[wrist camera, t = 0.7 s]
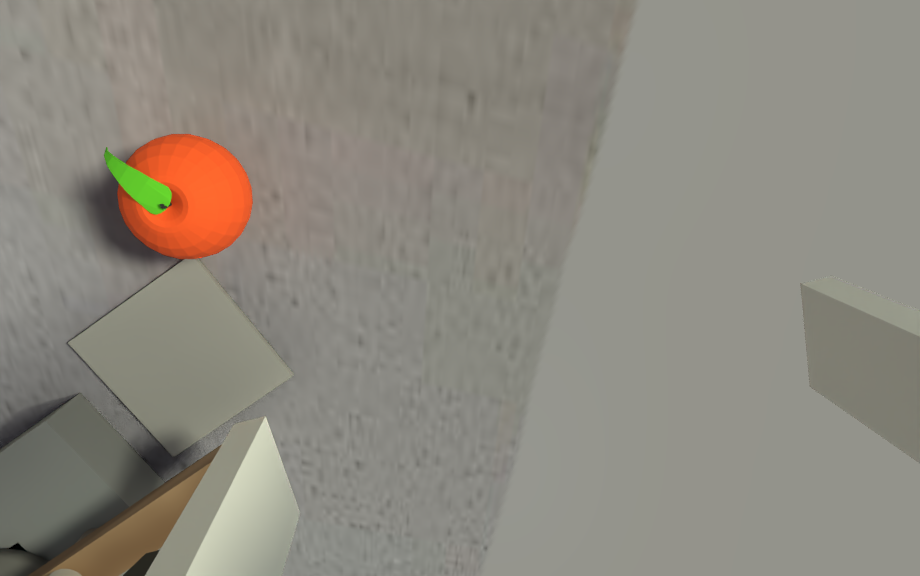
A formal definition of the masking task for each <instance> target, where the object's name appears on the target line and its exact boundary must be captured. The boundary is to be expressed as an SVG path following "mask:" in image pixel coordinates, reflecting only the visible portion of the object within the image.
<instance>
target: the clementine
mask: <svg viewBox="0 0 920 576" xmlns="http://www.w3.org/2000/svg"><path fill="white" fill-rule="evenodd" d="M104 157H105V160H106V164H107V166H108V168H109V169H110V171H111V173H112V174H113V176H114V177H115V178H116V180H117V181H118V182H119V186H118V193H117V195H118V203H119V209H120V212H121V214H122V217H123V219H124V221H125V224H126V225H127V226H128V228H129V229H130V230H131V232H132V233H133V234H134V236H135V237H137V238H138V239H139V240H140V241H141V242H143V243H144V244H145V245H146V246H147V247H149V248H151V249H153V250H155V251H157V252H159V253H161V254H163V255H165V256H169V257H173V258H178V259H198V258H202V257H206V256H210V255H213V254H217V253H219V252H220V251H222V250H224V249H225V248H227V247H229V246H230V245H231V244H232V243H233V242H234V241H235V240H236V239H237V238H238V237H239V236H240V235H241V233H242V232H243V230H244V228H245V226H246V224H247V222H248V220H249V218H250V214H251V209H252V204H253V201H252V189H251V185H250V182H249V179H248V177H247V174H246V172H245V170H244V169H243V167H242V166H241V164H240V163H239V161H238V160H237V159H236V158H235V157H234V156H233V155H232V154H231V153H230V152H229V151H228V150H227V149H226V148H224V147H222V146H220V145H219V144H217V143H215V142H213V141H211V140H209V139H206V138H202V137H198V136H194V135H191V134H171V135H167V136H164V137H160V138H156V139H154V140H152V141H150V142H148V143H147V144H145V145H144V146H142V147H140V148H139V149H137V150H136V151H135V152H134V153H133V155H132V156H131V157H130V158H129V159H128V160H127V161H126V164H125V163H124V162H122V161H121V160H119V159H118V158H116V157H115V156H113V155H112V154H111V153H110V152H108V149H107V147H106V150H105V154H104Z"/></svg>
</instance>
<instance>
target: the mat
mask: <svg viewBox="0 0 920 576" xmlns="http://www.w3.org/2000/svg"><path fill="white" fill-rule="evenodd" d="M68 344H69V345H70V346H71V347H72V348H73V349H74V350H75V351H76V352H77V354H78V355H79V356H80V357H81V358H82V359H83V360H84V361H85V362H86V363H87V364H88V365H89V367H90V368H91V369H92V370H93V371H94V372H95V373H96V374H97V375H98V376H99V377H100V378H101V379H102V381H103V382H104V383H105V384H106V385H107V386H108V387H109V388H110V389H111V390H112V391H113V392H114V394H115V395H116V396H117V397H118V398H119V399H120V400H121V401H122V402H123V403H124V404H125V405H126V406H127V408H128V409H129V410H130V411H131V412H132V413H133V414H134V415H135V416H136V417H137V418H138V419H139V421H140V422H141V423H142V424H143V425H144V426H145V427H146V428H147V429H148V430H149V431H150V432H151V434H152V435H153V436H154V437H155V438H156V439H157V440H158V441H159V442H160V443H161V444H162V445H163V446H164V448H165V449H166V450H167V451H168V452H169V453H170V454H171V455H172V456H173V457H175V456H176V455H178V454H179V453H181V452H182V451H184V450H185V449H187V448H188V447H190V446H191V445H192V444H194V443H195V442H197V441H198V440H200V439H201V438H203V437H204V436H206V435H207V434H209V433H210V432H212V431H213V430H215V429H216V428H217V427H219V426H220V425H222V424H223V423H225V422H226V421H228V420H229V419H231V418H232V417H234V416H235V415H237V414H238V413H240V412H241V411H242V410H244V409H245V408H247V407H248V406H250V405H251V404H253V403H254V402H256V401H257V400H259V399H260V398H262V397H263V396H265V395H266V394H267V393H269V392H270V391H272V390H273V389H275V388H276V387H278V386H279V385H281V384H282V383H284V382H285V381H287V380H288V379H290V378H291V377H292V376H293V375H294V374H293V373H292V371H291V370H290V369H289V368H288V366H287V365H286V364H285V363H284V362H283V360H282V359H281V358H280V357H279V356H278V354H277V353H276V352H275V351H274V350H273V348H272V347H271V346H270V345H269V343H268V342H267V341H266V340H265V339H264V337H263V336H262V335H261V334H260V333H259V331H258V330H257V329H256V328H255V327H254V325H253V324H252V323H251V322H250V320H249V319H248V318H247V317H246V316H245V314H244V313H243V312H242V311H241V310H240V308H239V307H238V306H237V305H236V304H235V302H234V301H233V300H232V299H231V297H230V296H229V295H228V294H227V293H226V291H225V290H224V289H223V288H222V287H221V285H220V284H219V283H218V282H217V281H216V279H215V278H214V277H213V276H212V274H211V273H210V272H209V271H208V270H207V268H206V267H205V266H204V265H203V264H202V262H201V261H200V260H199V259H184V260H183V261H181V262H180V263H178V264H177V265H176V266H174V267H173V268H171V269H170V270H169V271H167V272H166V273H164V274H163V275H162V276H160V277H159V278H157V279H156V280H155V281H153V282H152V283H151V284H149V285H148V286H146V287H145V288H144V289H142V290H141V291H139V292H138V293H137V294H135V295H134V296H132V297H131V298H130V299H128V300H127V301H125V302H124V303H123V304H121V305H120V306H118V307H117V308H116V309H114V310H113V311H111V312H110V313H109V314H107V315H106V316H104V317H103V318H102V319H100V320H99V321H97V322H96V323H95V324H93V325H92V326H90V327H89V328H88V329H86V330H85V331H83V332H82V333H81V334H79V335H78V336H77V337H75V338H74V339H72V340H71V341H70V342H68Z"/></svg>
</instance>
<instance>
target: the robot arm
mask: <svg viewBox="0 0 920 576" xmlns="http://www.w3.org/2000/svg"><path fill="white" fill-rule="evenodd" d="M800 286H801V296H802V307H803V317H804V329H805V340H806V350H807V361H808V372H809V382H810V387H811V388H812V389H814V390H815V391H817V392H818V393H820V394H821V395H823V396H824V397H825V398H827V399H828V400H830V401H831V402H832V403H834V404H835V405H837V406H838V407H840V408H841V409H843V410H844V411H845V412H847V413H848V414H850V415H851V416H853V417H854V418H856V419H857V420H858V421H860V422H861V423H863V424H864V425H865V426H867V427H868V428H870V429H871V430H873V431H874V432H875V433H877V434H878V435H880V436H881V437H883V438H884V439H886V440H887V441H888V442H890V443H891V444H893V445H894V446H896V447H897V448H898V449H900V450H901V451H903V452H904V453H906V454H907V455H909V456H910V457H911V458H913V459H914V460H916V461H917V462H919V463H920V310H917V309H915V308H912V307H910V306H907V305H905V304H902V303H900V302H897V301H894V300H892V299H889V298H887V297H884V296H882V295H879V294H877V293H874V292H871V291H869V290H866V289H864V288H861V287H859V286H856V285H854V284H851V283H849V282H846V281H843V280H841V279H838V278H836V277H833V276H829V277H825V278H821V279H817V280H813V281H809V282H805V283H801V284H800ZM299 515H300V511H299V508H298V506H297V503H296V500H295V497H294V494H293V492H292V489H291V486H290V483H289V480H288V478H287V475H286V472H285V469H284V466H283V464H282V461H281V458H280V455H279V452H278V450H277V447H276V444H275V441H274V438H273V436H272V433H271V430H270V427H269V425H268V422H267V419H266V416H264V417H260V418H256V419H252V420H248V421H244V422H240V423H236V424H234V425H233V427H232V429H231V430H230V432H229V434H228V435H227V437H226V439H225V441H224V442H223V444H222V446H221V447H220V449H219V451H218V452H217V454H216V456H215V457H214V459H213V461H212V463H211V464H210V466H209V468H208V469H207V471H206V473H205V474H204V476H203V478H202V480H201V481H200V483H199V485H198V486H197V488H196V490H195V491H194V493H193V495H192V497H191V498H190V500H189V502H188V503H187V505H186V507H185V508H184V510H183V512H182V514H181V515H180V517H179V519H178V520H177V522H176V524H175V525H174V527H173V529H172V531H171V532H170V534H169V536H168V537H167V539H166V541H165V542H164V544H163V546H162V547H161V549H160V550H157V551H153V552H149V553H146V554H145V555H144V556H142V557H141V558H140V559H139V560H138V561H137V562H136V563H135V564H134V565H133V566H132V567H131V568H130V569H129V570H128V571H127V572H126V573H125V574H124V575H123V576H282V574H283V570H284V567H285V563H286V560H287V556H288V553H289V550H290V546H291V543H292V539H293V536H294V533H295V529H296V526H297V522H298V519H299Z"/></svg>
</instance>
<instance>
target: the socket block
mask: <svg viewBox="0 0 920 576" xmlns="http://www.w3.org/2000/svg"><path fill="white" fill-rule="evenodd" d="M164 483H165V482H164V481H163V480H162V479H161V478H160V477H159V476H158V475H157V474H156V473H155V472H154V471H153V470H152V469H151V468H150V466H149V465H148V464H147V463H146V462H145V461H144V460H143V459H142V458H141V457H140V456H139V455H138V454H137V453H136V452H135V451H134V449H133V448H132V447H131V446H130V445H129V444H128V443H127V442H126V441H125V440H124V439H123V438H122V437H121V436H120V435H119V434H118V433H117V431H116V430H115V429H114V428H113V427H112V426H111V425H110V424H109V423H108V422H107V421H106V420H105V419H104V418H103V417H102V416H101V414H100V413H99V412H98V411H97V410H96V409H95V408H94V407H93V406H92V405H91V404H90V403H89V402H88V401H87V400H86V399H85V398H84V396H83V395H82V394H81V393H79V394H78V395H76V396H75V397H74V398H72V399H71V400H69V401H68V402H66V403H65V404H64V405H62V406H61V407H59V408H58V409H56V410H55V411H54V412H52V413H51V414H49V415H48V416H47V417H45V418H44V419H42V420H41V421H39V422H38V423H37V424H35V425H34V426H32V427H31V428H30V429H28V430H27V431H25V432H24V433H22V434H21V435H20V436H18V437H17V438H15V439H14V440H13V441H11V442H10V443H8V444H7V445H5V446H4V447H3V448H1V449H0V549H8V548H10V547H11V546H13V545H14V544H16V543H17V542H18V543H19V544H20V545H21V546H22V547H23V548H24V549H25V550H26V551H27V552H29V553H32V554H35V555H37V556H40V557H42V558H43V559H45V560H47V561H50V560H52V559H53V558H55V557H56V556H58V555H59V554H61V553H62V552H63V551H65V550H66V549H68V548H69V547H71V546H72V545H74V544H75V543H76V542H77V541H78V539H79V538H80V537H81V536H82V534H83V533H84V532H86V531H87V530H89V529H93V528H99V527H100V526H102V525H103V524H105V523H106V522H108V521H109V520H111V519H112V518H114V517H115V516H117V515H118V514H120V513H121V512H123V511H124V510H126V509H127V508H129V507H130V506H132V505H133V504H134V503H136V502H137V501H139V500H140V499H142V498H143V497H145V496H146V495H148V494H149V493H151V492H152V491H154V490H155V489H157V488H158V487H160V486H161V485H163V484H164ZM160 549H161V548H160ZM160 549H158V550H160ZM128 570H129V569H128ZM128 570H127V571H128ZM127 571H125V572H124V573H122V574H121V575H119V576H123V575H124V574H125V573H126V572H127Z"/></svg>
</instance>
